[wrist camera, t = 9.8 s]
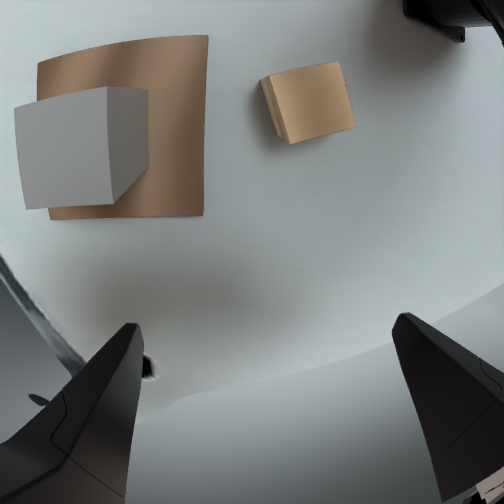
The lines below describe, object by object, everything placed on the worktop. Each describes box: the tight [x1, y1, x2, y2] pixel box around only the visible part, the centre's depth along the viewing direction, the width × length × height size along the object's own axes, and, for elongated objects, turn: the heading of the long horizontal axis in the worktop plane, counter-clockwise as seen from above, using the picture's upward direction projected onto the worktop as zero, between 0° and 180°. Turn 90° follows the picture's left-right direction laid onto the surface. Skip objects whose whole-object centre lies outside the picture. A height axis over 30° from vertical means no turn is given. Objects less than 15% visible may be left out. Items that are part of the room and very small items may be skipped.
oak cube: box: [260, 61, 356, 144], centre depth 16 cm, size 4×4×4 cm
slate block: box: [14, 86, 149, 210], centre depth 13 cm, size 5×5×7 cm
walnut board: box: [37, 35, 208, 220], centre depth 16 cm, size 12×12×1 cm
